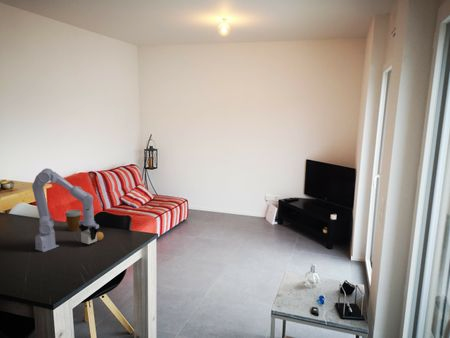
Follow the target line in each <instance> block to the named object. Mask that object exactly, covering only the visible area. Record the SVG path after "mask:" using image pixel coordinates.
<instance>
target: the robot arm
mask: <svg viewBox="0 0 450 338" xmlns="http://www.w3.org/2000/svg"><path fill="white" fill-rule="evenodd" d="M47 183H50V184H58V185H60V187H63V188H64V189H65V190H67V191H69V195H70V196H72V197H73V198H75V199H76V200H78V201H80V202H81V205H82V219H80V221H79V224H80V226H79V230H80V232H82V231H85V230H88V229H89V231H90V234H91V239H92V240H94V239H95V237H96V233H97V232H99V231H98V230H99V229H100V225H99V224H98V223H97V222H96V221H95V216H94V215H95V213H94V212H95V211H94V196H93V195H92V194H91V193H89V192H86V191H85V190H83V189H82V187H81V186H78V185H73V184H71V183H70V182H69V181H68V180H66V179H65V178H64V177H63V176H61V175H59V174H58V173H57V172H56V171H53V170H52V169H51V168H48V167H47V168H43V169H42V170H41V171H40V172H38V174H37V175H36V176H35V178H34V180H33V183H32V185H31V188H32V192H33V196H34V200H35V204H36V209H37V211H38V216H39V227H38V230H39V233H38V234H37V235H36V236H35V237H34V240H35V242H34V243H35V248H34V249H35V250H37V251H39V252H42V253H45V252H48V251H51V250H53V249H55V248H58V247H60V245H59V244H56V232H55V229H54V226H55V220H54V219H53V218H52V215H51V214H50V211H49V207H48V203H47V199H46V194H45V190H44V186H45V185H46V184H47ZM89 227H90V228H89Z"/></svg>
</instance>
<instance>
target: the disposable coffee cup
mask: <svg viewBox="0 0 450 338" xmlns="http://www.w3.org/2000/svg"><path fill="white" fill-rule="evenodd" d="M64 215H65V219H66V223H67V229H68V231H69V232H76V231H79V230H80V228H79V226H81V224H79V221H80V220H81V216H82V211H81V210H80V209H68V210H66V211H65V213H64Z"/></svg>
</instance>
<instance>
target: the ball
mask: <svg viewBox="0 0 450 338" xmlns="http://www.w3.org/2000/svg"><path fill="white" fill-rule="evenodd" d="M103 238H104V233H103V232H101V231H97V241H102V240H103Z"/></svg>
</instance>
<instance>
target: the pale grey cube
mask: <svg viewBox="0 0 450 338" xmlns="http://www.w3.org/2000/svg"><path fill="white" fill-rule="evenodd" d="M89 229H90V228H88V230H85V231H80V239H81V240H80V242H81V243H82V244H83V243H84V244H87V245H90V244H93V243H94V242H95V243H96V242H97V241H98V240H97V233H96V237H95V239H94V240H92V239H91V234H90V231H89Z"/></svg>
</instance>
